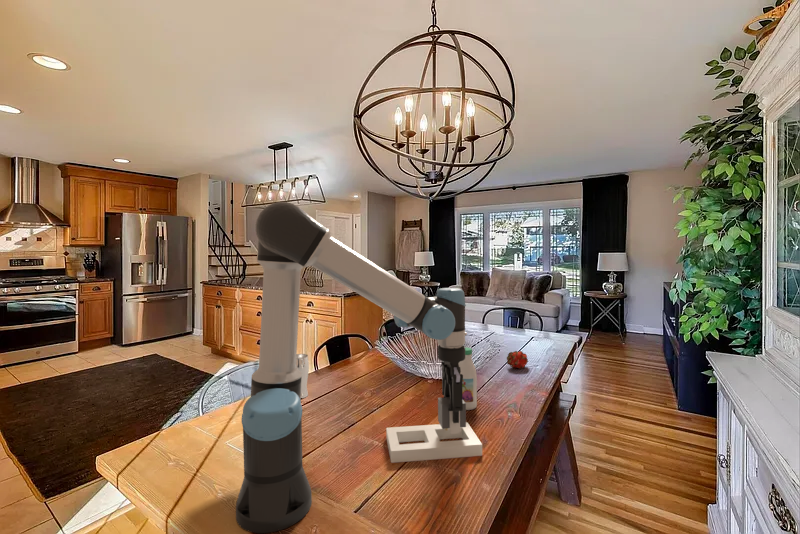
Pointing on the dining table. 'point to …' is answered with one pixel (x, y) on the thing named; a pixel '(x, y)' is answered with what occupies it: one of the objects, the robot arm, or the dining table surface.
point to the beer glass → (303, 372)
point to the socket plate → (431, 443)
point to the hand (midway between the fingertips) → (452, 428)
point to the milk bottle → (469, 380)
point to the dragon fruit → (517, 359)
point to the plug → (444, 413)
